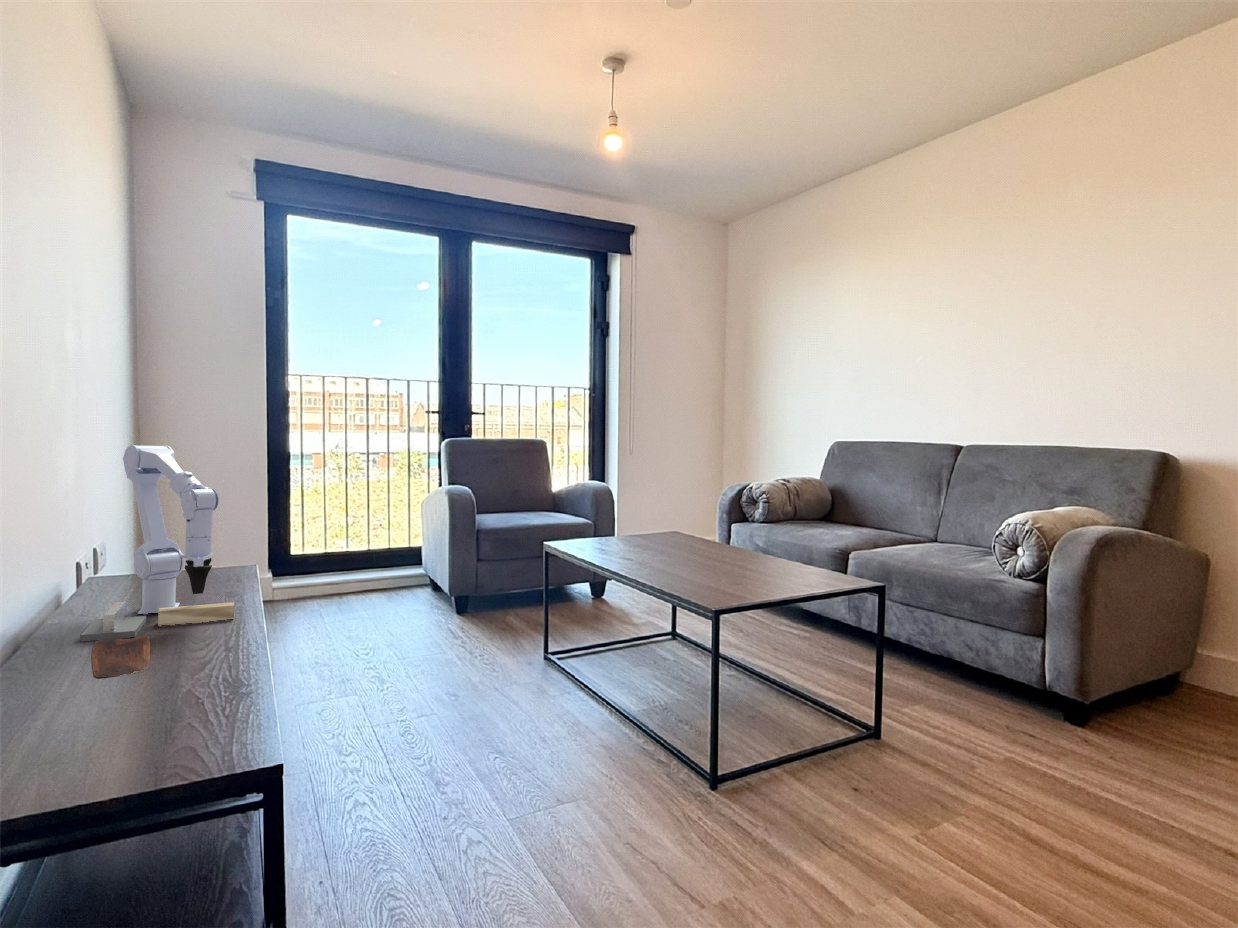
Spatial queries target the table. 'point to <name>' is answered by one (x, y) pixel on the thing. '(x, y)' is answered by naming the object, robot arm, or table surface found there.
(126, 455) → the robot arm
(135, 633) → the grey slab
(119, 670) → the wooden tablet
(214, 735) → the table surface
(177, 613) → the maple bar
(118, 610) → the steel ridge
